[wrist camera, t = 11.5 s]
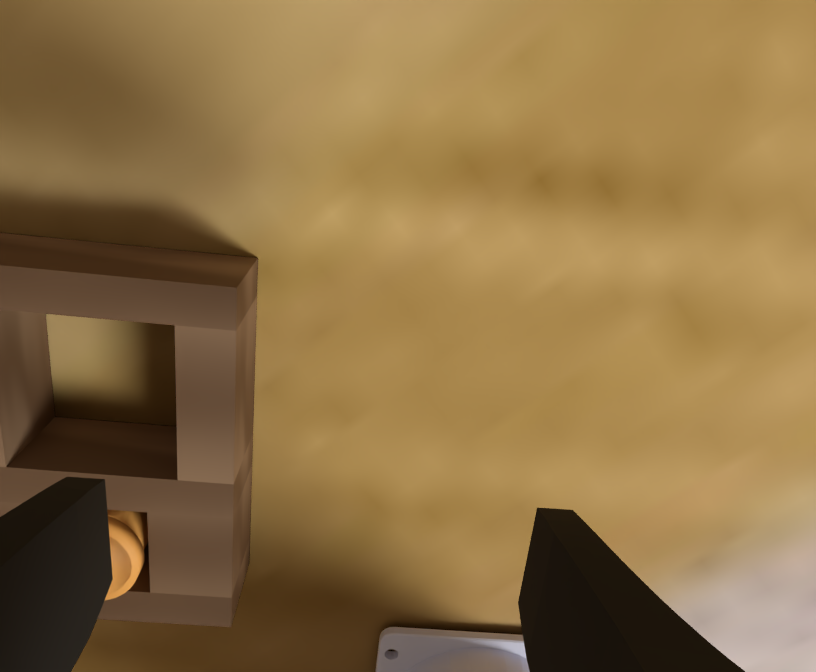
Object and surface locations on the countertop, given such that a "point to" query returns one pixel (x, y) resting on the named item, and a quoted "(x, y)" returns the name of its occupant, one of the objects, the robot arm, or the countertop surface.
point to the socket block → (131, 442)
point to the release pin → (126, 548)
